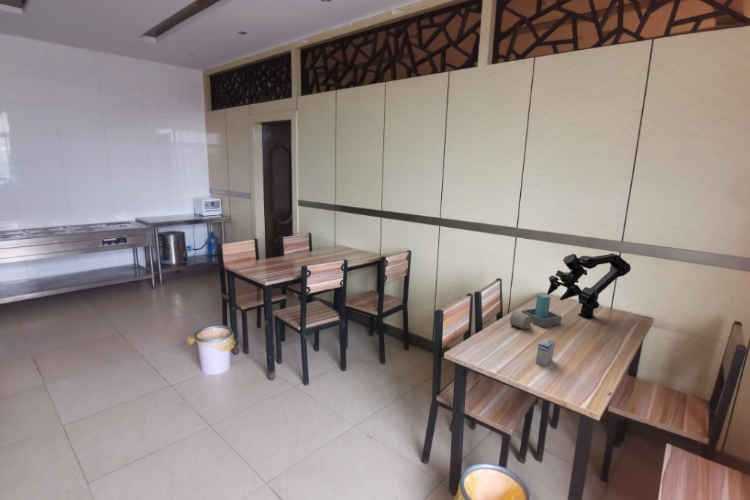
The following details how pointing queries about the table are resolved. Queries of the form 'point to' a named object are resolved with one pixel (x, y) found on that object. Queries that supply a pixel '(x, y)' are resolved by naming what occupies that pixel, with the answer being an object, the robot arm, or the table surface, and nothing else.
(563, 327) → the table surface
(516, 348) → the table surface
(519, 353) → the table surface
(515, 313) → the ceramic mug
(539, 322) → the box
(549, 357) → the medicine box
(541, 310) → the handle block
